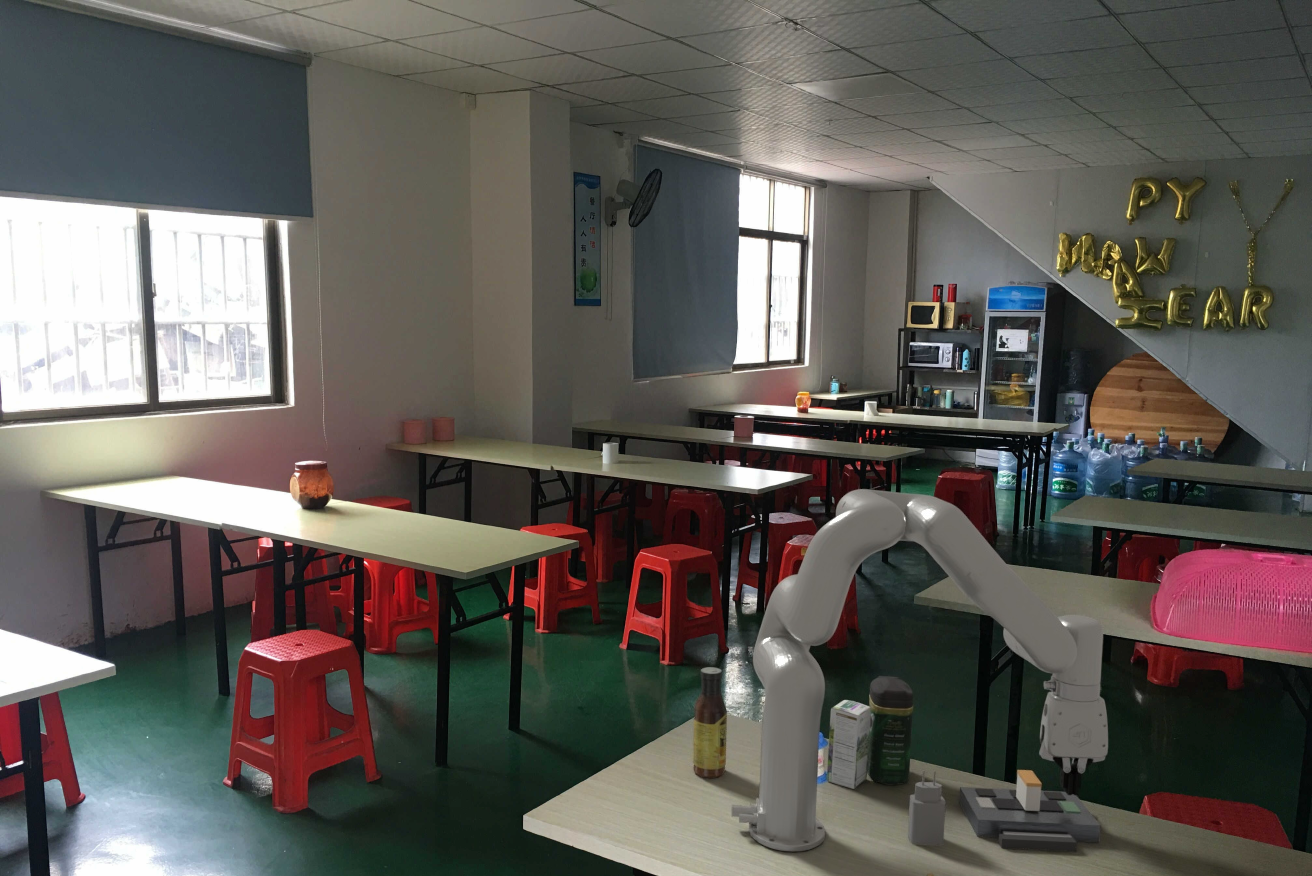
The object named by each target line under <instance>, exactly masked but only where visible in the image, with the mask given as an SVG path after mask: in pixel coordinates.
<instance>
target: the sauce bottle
mask: <svg viewBox="0 0 1312 876" xmlns="http://www.w3.org/2000/svg"><path fill="white" fill-rule="evenodd" d="M699 677H700V679H701V683H700V685H701V686H700V695H699V696H698V698H697V700H696V701H695V704H694V718H693V743H692V744H693V748H692V749H693V751H692V752H693V753H692V756H693V757H692V764H693V768H692V769H693V772H694V773H695V775H698V776H700V777H702V778H709V779H710V778H718V777H720V776H722V775H723V774H724V773H725V769H726V761H727V733H728V732H727V729H728V728H727V722H728V721H727V720H728V716H727V715H728V709H727V708H726V703H725V701H724V697H723V694H722V686H721V685H722V682H721V681H722V679H723V671H722V669H720V668H718V667H712V666H709V667H703V668H702V669H700V676H699Z"/></svg>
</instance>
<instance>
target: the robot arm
mask: <svg viewBox="0 0 1312 876" xmlns="http://www.w3.org/2000/svg"><path fill="white" fill-rule="evenodd" d="M899 541H905V542H915V543H917V544H919V545H921V546H922V548H924V549H925V550H926V551H927V552H928V553H929V555H930V556H931V557H932V558H933V560H934V561H935V562H936V563H937V564H938V565H939V566H940V568H942V570H943V571H944V572H945V573H946V575H947V576H948V577H949V578H950V579H951V580H952V582H953V583H954V584H955V586H957V588H958V589H959V590H960V591H961V592H962V593H963V595H964V596H965V597H966V598H968V600H970V601H971V602H972V603H973V605H975V606H976V607H978V608H979V609H981V610H982V611H983V612H984V613H986V614H987V615H988V616H990V617H991V618H992V619H993V620H994V621H996V622H997V623H998V624H999V625H1001V626H1002V627H1003V634H1002V635H1003V639H1004V641H1005V644H1006V646H1007V647H1008V648H1009V649H1010V650H1011V651H1012V652H1014V653H1015V654H1016V655H1018V656H1019V657H1021V658H1022V659H1024V660H1025V661H1028V662H1029V663H1030V664H1032V665H1033V666H1035V667H1036V668H1037V669H1038V670H1040V671H1042V672H1044V673H1048V674H1052V675H1050V680H1048V681H1046V680H1044V681H1043V689H1044V690H1049V692H1047V695H1046V698H1045V701H1044V706H1043V708H1042V709H1043V710H1042V715H1041V721H1040V732H1039V743H1040V744H1041V746H1040V749H1039V752H1038V754H1039V756H1040V757H1041V759H1043V760H1047V761H1051V762H1054V763H1056V765H1058V767H1059V768H1060V772H1059V774H1060V775H1059V784H1060V785H1059V787H1061V789H1063V792H1066V793H1067V795H1072V794H1073V795H1076V796H1077V797H1079V789H1081V788H1082V775H1083V774H1084V773H1085V772H1086V769H1087V768H1088V767H1089V766H1090V765H1091V764H1092V763H1097V762H1103V761H1105V760H1106V756H1107V755H1108V752H1109V751H1108V750H1109V731H1108V730H1109V728H1108V714H1107V707H1106V706H1107V705H1106V702H1105V699H1104V698H1103V697H1101V696H1100V694H1101V679H1102V677H1101V676H1102V660H1103V659H1102V657H1103V644H1104V643H1103V642H1104V641H1103V640H1104V627H1103V625H1102V623H1101V622H1100V621H1099V620H1097V619H1096V618H1094V617H1091V616H1086V615H1083V614H1067V615H1061V616H1056V614H1055V613H1054V611H1052V609H1051V608H1050V607H1049V606H1048V605H1047V604H1046V603H1045V602H1044V601H1043V599H1041V598H1040V597H1039V596H1038V595H1037V594H1036V593H1035V592H1034V591H1033V590H1032V589H1031V588H1030V587H1029V586H1028V585H1027V584H1026V583H1025V581H1024V580H1023V579H1021V577H1020V576H1019V575H1018V574H1017V573H1016V572H1015V571H1014V570H1013V569H1012V568H1011V567H1010V566H1008V564H1007V563H1006V562H1005V561H1004V560H1003V558H1001V556H1000V555H999V553H998V552H997V551H996V550H995V549H994V548H993V547H992V546H991V544H990V543H989V542H988V540H987V539H985V537H984V536H983V535H982V533H981V532H980V530H978V528H976V527H975V525H974V524H973V523H972V521H971V520H970V519H969V518H968V516H966V514H964V512H963V511H962V510H961V509H960V508H958V506H956V505H954V504H952V503H951V502H948V501H946V500H943V499H940V498H938V497H936V496H932V495H927V494H920V493H919V494H918V493H909V492H908V493H906V492H895V491H886V490H877V489H876V490H875V489H867V488H862V489H861V488H859V489H855V490H851V491H848V492H847V493H846V494H845V495H843V497H841V498H840V500H839V501H838V503H837V505H836V509H835V517H833V518H832V519H831V520H829V521H828V522H827V523H826V524H824V525H823V526H822V527H821V528H820V529H819V530H818V531H817V532H816V533H815V534H814V536H813V537H812V539H811V541H810V542H809V545H808V546H807V548H806V552H805V554H804V557H803V560H802V562H801V565H800V567H799V569H798V572H797V574H792V575H789V576H787V577H785V578H784V579H782V580H781V581H780V582H779V583H778V584H777V585H776V587H774V589H773V591H772V593H771V595H770V597H769V600H768V603H767V606H766V610H765V613H764V615H763V618H762V621H761V625H760V628H759V631H758V635H757V639H756V642H755V645H754V649H753V654H752V665H753V668H754V671H755V673H756V675H757V677H758V679H759V681H760V682H761V684H762V686H763V688H764V693H765V695H764V706H763V712H762V716H761V717H762V719H761V727H760V730H761V732H760V765H759V768H760V769H759V792H758V793H759V796H758V797H756V799H755V803H750V804H749V805H744V804H743V805H742V804H733V803H732V804H731V809H730V810H731V814H730V815H731V817H734V818H735V817H737V818H738V822H739V823H743V824H746V823H748V832H749V835H750V836H751V838H753V840H755V841H756V842H757V843H759V844H760V845H763V846H764V847H766V848H770V849H773V850H776V851H783V852H803V851H808V850H812V849H815V848H816V847H818V846H819V845H821V844H822V843H823V842H824V840H825V837H826V836H825V835H826V833H825V832H826V829H825V826H824V825H823V823H822V822H821V821H820V820H819V819H818V818H817V799H818V798H817V797H818V796H817V795H818V794H817V793H818V778H819V777H818V775H819V774H818V772H819V750H820V728H821V727H820V726H821V718H822V717H821V716H822V710H823V706H824V705H823V704H824V699H825V693H826V682H825V677H824V673H823V671H822V669H821V668H822V667H820V665H819V663H818V662H817V660H816V658H814V656H813V655H812V653H811V652H810V648H811V646H814V647H816V646H820V645H823V644H825V643H826V642H828V641H829V640H830V639H831V638H832V637H833V636H834V633H836V630H837V628H838V625H839V622H840V618H841V615H842V612H843V609H844V606H845V602H846V598H847V596H848V592H849V590H850V585H851V584H852V581H853V579H854V575H855V573H856V572H857V570H858V568H859V567H860V565H861V564H862V562H864V560H866V559H867V558H868V557H870V556H872V555H874V554H875V553H877V552H879V551H883V550H886V549H889V548H890V547H892V546H894V545H896V544H897V543H898V542H899ZM1070 759H1072V761H1071V760H1070Z"/></svg>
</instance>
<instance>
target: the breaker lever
mask: <svg viewBox="0 0 1312 876" xmlns="http://www.w3.org/2000/svg"><path fill="white" fill-rule="evenodd" d="M1016 774H1017V775H1016V777H1017V779H1016V789H1015V790H1016V797H1017V799H1018V800H1019V802H1020V803H1021V805H1022V806H1023V808H1024V809H1025V810H1027V811H1040V796H1041V791H1042V785H1043V784H1042V782H1041V781H1040V779H1039V778H1038V777H1037V775H1036V774H1035V772H1034V771H1033V770H1029V769H1026V770H1025V769H1017V772H1016Z"/></svg>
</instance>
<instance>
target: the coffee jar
mask: <svg viewBox="0 0 1312 876" xmlns="http://www.w3.org/2000/svg"><path fill="white" fill-rule="evenodd" d="M868 701H869V703H868V706H869V707H870V708H871V718H870V734H869V750H868V765H867V776H868V777H869V778H870V779H871V780H872V781H873V782H877V783H881V784H884V785H888V786H897V785H901V784H906V783H907V782H908V781H909V779H910V771H911V770H910V768H911V750H912V749H911V748H912V732H913V714H914V692H913V690H912V688H911V687H910V684H908V683H907V682H905V680H902V679H901V678H900V677H899V676H889V675H887V676H885V675H879V676H878V677H876V678H875V679H873V680H872V681H871V682H870V686H869V699H868Z"/></svg>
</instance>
